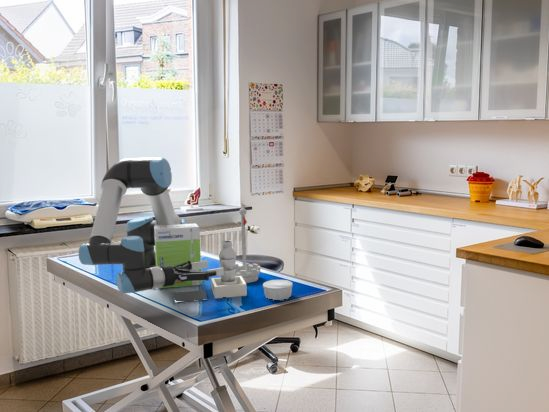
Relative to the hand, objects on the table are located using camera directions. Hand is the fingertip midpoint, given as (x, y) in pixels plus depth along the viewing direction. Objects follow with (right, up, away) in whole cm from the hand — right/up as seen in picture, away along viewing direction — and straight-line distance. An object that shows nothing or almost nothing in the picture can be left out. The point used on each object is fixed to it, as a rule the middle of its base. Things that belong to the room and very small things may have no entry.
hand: (215, 267), depth 220 cm
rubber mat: (-10, -11, +1) cm, 15 cm away
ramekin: (+24, -11, -2) cm, 26 cm away
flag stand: (+10, -8, +23) cm, 26 cm away
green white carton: (-17, -9, +19) cm, 26 cm away
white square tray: (+5, -10, +5) cm, 12 cm away
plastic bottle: (+5, -10, +5) cm, 12 cm away
